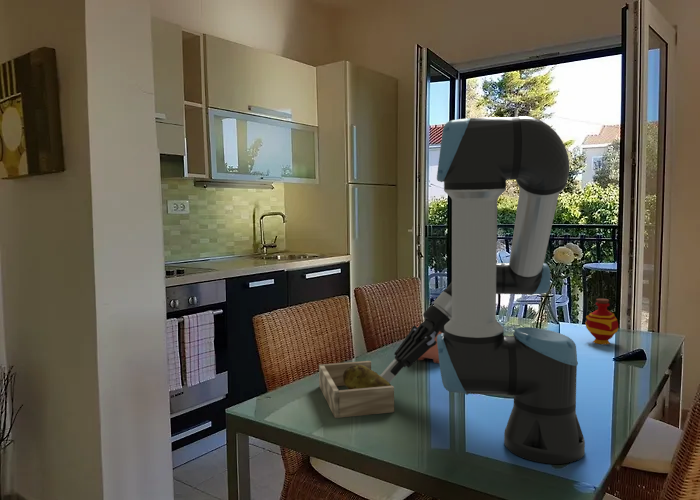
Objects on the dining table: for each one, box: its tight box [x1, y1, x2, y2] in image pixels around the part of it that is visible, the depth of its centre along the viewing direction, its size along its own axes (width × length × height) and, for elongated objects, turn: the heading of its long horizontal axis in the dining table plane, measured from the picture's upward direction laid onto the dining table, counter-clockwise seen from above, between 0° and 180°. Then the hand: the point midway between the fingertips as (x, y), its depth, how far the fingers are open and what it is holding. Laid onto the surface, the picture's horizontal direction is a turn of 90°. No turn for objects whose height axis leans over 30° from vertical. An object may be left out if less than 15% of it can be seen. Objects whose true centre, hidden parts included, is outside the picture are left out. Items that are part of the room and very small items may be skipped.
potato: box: [343, 365, 392, 390], centre depth 136 cm, size 8×13×8 cm, turn 38°
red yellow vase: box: [584, 298, 619, 345], centre depth 186 cm, size 10×10×15 cm
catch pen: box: [318, 360, 395, 419], centre depth 137 cm, size 22×14×6 cm, turn 12°
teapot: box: [416, 325, 441, 364], centre depth 171 cm, size 20×12×12 cm, turn 145°
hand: (382, 381), depth 139 cm, fingers closed
